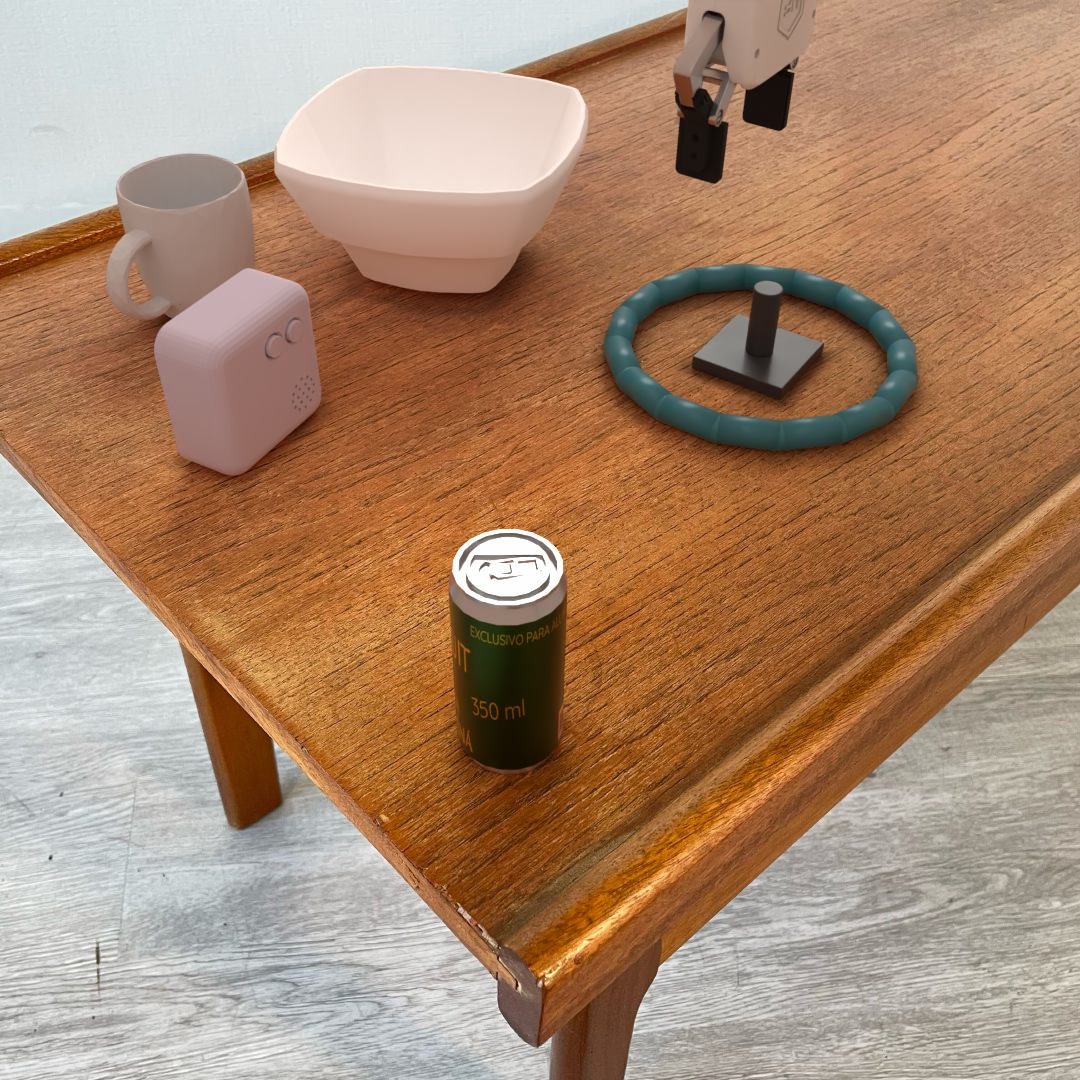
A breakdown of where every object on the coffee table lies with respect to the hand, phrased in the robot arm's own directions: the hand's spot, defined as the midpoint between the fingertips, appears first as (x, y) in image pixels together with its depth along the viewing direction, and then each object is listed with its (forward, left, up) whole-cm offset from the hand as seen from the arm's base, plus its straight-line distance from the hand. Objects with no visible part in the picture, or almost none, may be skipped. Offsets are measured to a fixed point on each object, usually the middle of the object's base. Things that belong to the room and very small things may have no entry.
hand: (732, 150), depth 82 cm
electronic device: (+18, +30, -14) cm, 37 cm away
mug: (+33, +22, -14) cm, 42 cm away
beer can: (-10, +41, -14) cm, 44 cm away
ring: (-5, +3, -12) cm, 14 cm away
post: (-5, +3, -13) cm, 15 cm away
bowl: (+22, +5, -14) cm, 26 cm away
